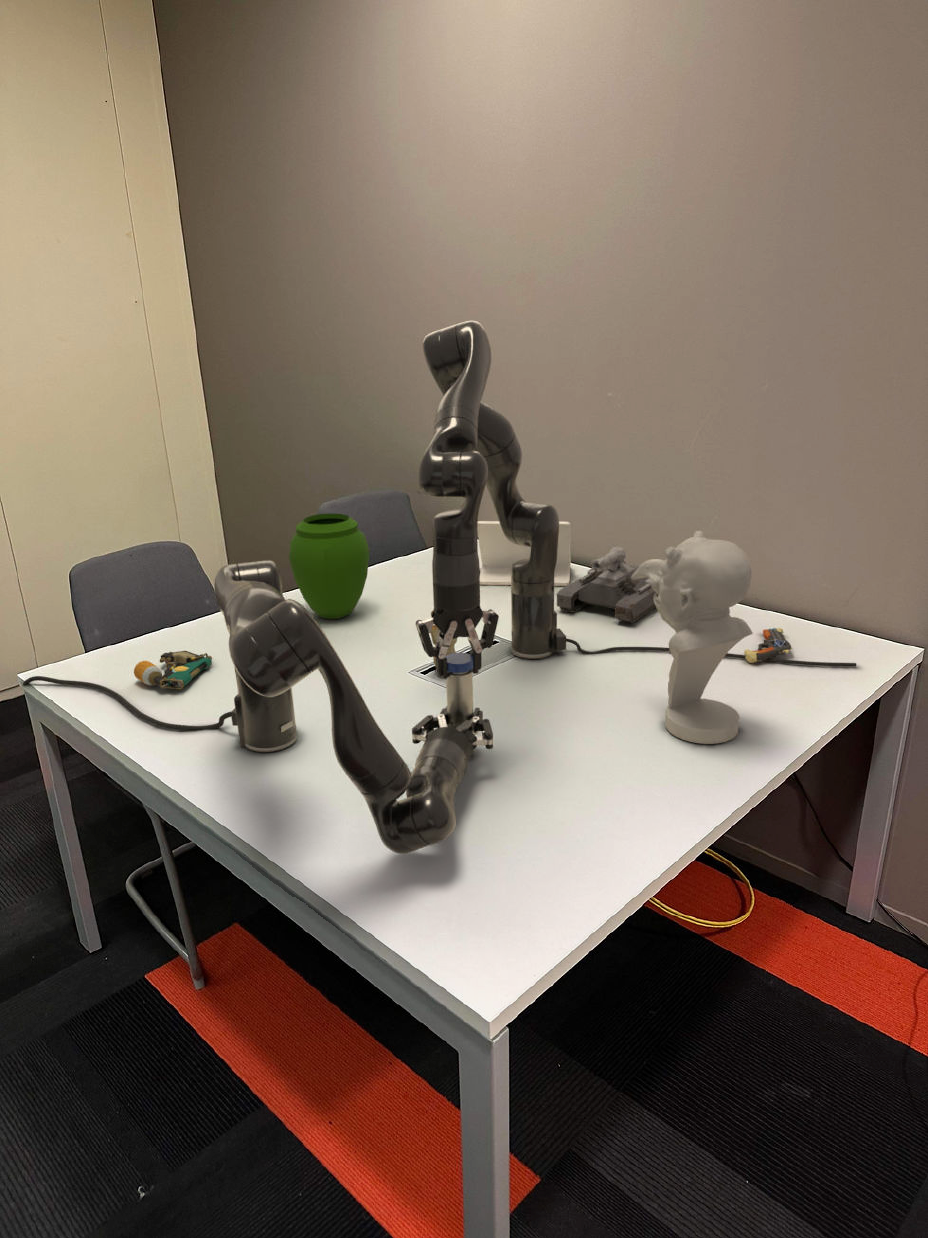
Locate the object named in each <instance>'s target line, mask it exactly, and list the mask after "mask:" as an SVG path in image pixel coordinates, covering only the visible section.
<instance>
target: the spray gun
mask: <svg viewBox="0 0 928 1238" xmlns="http://www.w3.org/2000/svg"><path fill="white" fill-rule="evenodd" d="M212 660H213V657H212V656H211V655H208V653H207V652H205V653H201V654H197V653H194V652H192V651H191V652H190V651H188V650H180V651H169V652H164V653H162V654H161V655H160V658H159V660H158V662H159V663H161V664H163V663H165V664H166V668H165V670H163V672H164V674H163V673H162V669H160V668H159V666H157V665H156V664H154V663H152V662H151V661H149V660H141V661H139V662H138V663H136V665H135V666H134V668H133V675H134V677H135V678H136V679H137V680H139V681H140V682H142V683H143V684H145V685H147V686H155V685H157V686H158V687H160V688H161V689H171V690H172V689H173V690H182V689H184V687H185V686H186V685H188V684H189V683H190V682H191V681H192V679H193V678H195V677H196V676H197V675H198V674H200V673H201V672H202V671H203V670H206V669H208V668H209V667H210V666H211V665H212V662H213V661H212ZM178 663H179V664H181V665H179V666H176V665H177V664H178Z"/></svg>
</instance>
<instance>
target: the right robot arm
mask: <svg viewBox="0 0 928 1238" xmlns="http://www.w3.org/2000/svg"><path fill="white" fill-rule="evenodd" d="M422 353H423V356H424V359H425V362H426V365H427V367H428V370H429V372H430V374H431V376H432V378H433V380H434V381H435V383H436V385H437V387H438V389H439V390H440V392H441V394H442V395H443V397H442V398H441V399H440V401H439V404H438V406H437V407H436V411H435V416H434V424H433V425H434V426H433V436H432V438H431V440H430V443H429V444H428V446H427V447H426V450H425V451H424V453H423V455H422V457H421V460H420V462H419V465H418V470H417V480H418V481H417V482H418V485H419V488H420V489H421V491H422V492H423V493H424V494H425V495H426V496H428V497H430V498H436V499H443V498H445V499H446V498H448V499H450V498H453V499H454V498H456V499H457V498H464V502H463V503H462V504H461V505H460V506H459V507H456V508H452V509H449V510H444V511H441V512H439V513H437V514H435V515H434V516H433V519H432V522H431V526H432V527H431V528H432V529H431V530H432V563H431V566H432V567H431V569H432V570H431V571H432V572H431V573H432V595H433V599H432V600H433V610H434V611H433V610H432V611H433V614H432V616H431V615H430V617H429V618H426V619H424V620H422V619H417V620H416V621H415V627H416V630H417V634H418V636H419V639H420V640H419V641H420V642H421V643H420V644H421V645H422V647H423V648H422V649H423V651H424V652H425V653H426V655H427V656H428V658H433V657H436V667H435V671H436V673H437V675H438V676H439V677H440V678H441V679H442V680H446V679H447V658H446V657H445V656H446V653H447V650H448V647H449V646H450V644H451V641H452V639H456V638H457V639H458V638H467V641H468V643H469V645H470V649H469V654H470V655H472V656H473V658H474V667H473V669H472V674H473V675H476V674H479V672H480V671H479V670H481V669H482V662H483V661H482V652H483V651H484V650H485V649H491V648H493V647H492V646H493V644H494V639H495V636H496V632H497V627H498V623H499V618H500V617H499V614H497V612H495V611H494V609H488V610H483V609H482V607H481V584H480V572H481V569H480V566H481V565H480V556H479V550H478V549H479V547H478V546H479V545H478V544H479V541H478V531H477V523H478V521H479V514H480V507H481V504H482V499H483V495H484V492H485V488H487V491H488V493H489V495H490V498H491V501H492V505H493V506H494V509H495V513H496V516H497V520H498V521H499V523H500V526H501V528H502V531H503V533H504V535H505V537H506V538H507V539H508V540H509V541H510V542H512V543H514V544H517V545H522V546H528V547H531V552H530V558H526V559H522V560H519V561H516V562H515V563H513V565H512V567H511V585H510V588H511V589H510V597H511V599H510V603H511V604H510V606H511V607H510V609H511V610H510V615H511V617H510V618H511V621H510V622H511V643H510V644H511V647H510V651H511V653H512V655H513V656H515V657H518V658H521V659H525V660H526V659H527V660H540V659H545V658H548V657H550V656H552V655H557V654H558V653H557V651H558V652H560V651H567V643H569V644H572V645H574V646H575V647H576V649H577V651H578V652H579V653H581V654H583V655H599V654H605V653H610V652H615V651H655V652H670V649H669V647H663V646H662V647H661V646H659V647H658V646H614V647H608V648H604V649H600V650H596V651H595V650H594V651H588V650H584V649H582V648H581V645H580V644H579V642H577V641H576V640H574V639H570V638H568V637H567V635H566V634H565V632H563V631H562V630H561V628H559V627H558V613H557V612H556V611H555V586H554V572H555V567H556V563H557V554H558V538H559V522H560V520H559V518H560V517H559V514H558V511H557V509H556V508H555V507H554V506H553V505H551V504H547V503H541V502H540V503H539V502H532V501H527V500H525V499H524V497H522V495H521V494H520V491H519V488H518V485H517V478H518V475H519V472H520V470H521V465H522V460H523V452H522V448H521V444H520V442H519V440H518V437H517V435H516V432H515V430H514V428H513V426H512V424H511V422H510V421H509V419H507V417H505V416H504V415H503V414H502V413H501V412H499V411H498V410H496V409H495V408H493V407H491V406H490V405H488V404H487V403H485V402H483V401H482V399H483V396H484V393H485V389H486V386H487V383H488V378H489V375H490V372H491V365H492V348H491V344H490V340H489V337H488V335H487V332H486V330H485V328H484V327H483V325H482V324H481V323H480V322H479V321H477V320H467V321H463V322H459V323H456V324H454V325H450V326H447V327H444V328H441V329H437V330H435V331H433V332H430V333H428V334H427V335H425V337H424V338H423V341H422ZM481 620H482V622H483V626H482V627H483V628H482V632H481V636H480V638H479V635H478V633H477V630H476V628H477V626H478V625H479V623H480V622H481ZM433 625H436V627H437V628H438V629H439V632H438V635H437V643H436V646H435V645H434V644H433V641H432V638H431V637H430V636H431V634H430V633H431V631H432V626H433ZM724 658H736V659H743V660H746V656H745V654H739V653H729V652H728V653H727V654H726V655H725V656H724ZM759 662H768V663H779V664H788V665H789V664H791V665H801V666H814V667H815V666H816V667H817V666H818V667H854V668H856V667H857V662H829V661H828V662H825V661H807V660H806V661H805V660H796V659H795V660H794V659H784V658H775V657H770V658H767V659H764V660H760V661H759Z"/></svg>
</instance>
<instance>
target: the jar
mask: <svg viewBox="0 0 928 1238" xmlns="http://www.w3.org/2000/svg"><path fill="white" fill-rule="evenodd" d="M445 681H446V682H445V683H446V707H447V713H448V725H454V726H460V725H462V724H463V723H464V722H465V721H466V720H470V719H471V718H472V715H473V713H474V687H473V686H474V685H473V683H474V681H473V672H472V670H470V671H468V672H464V673H453V672H449V671H447V679H445ZM474 755H475V749H474V750H472V752H471V756H470V758H472V757H473V756H474Z"/></svg>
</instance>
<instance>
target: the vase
mask: <svg viewBox="0 0 928 1238" xmlns="http://www.w3.org/2000/svg"><path fill="white" fill-rule="evenodd" d="M358 524H359V523H358V521H356V520H355V519H353V518H352V517H350V516H349V515H347V514H344V513H335V512H334V513H333V512H331V513H320V514H313V515H310V516H307V517H305V518H303V519H302V520H301V521H300V522H299V523H298V524H297V525H296V526H295V532H296V533H295V534H294V536H293V537H292V538H291V540H290V542H289V551H288V559H289V564H290V566H291V567H290V568H291V570H292V575H293V578H294V581H295V584H296V586H297V587H298V589H299V591H300V593H301V596H302V597H303V600H304V601H305V603H306V604H307V605H308V607H309V608H310V609H311V611H312V612H314V613H315V614H316V615H317V616H318V617H320V618H324V619H326V620H327V619H329V620H336V619H341V618H345V617H347V616H349V615H350V614H351V613H352V612H353V611H354V610H355V608H356V607H357V605H358V604H359V601H360V599H361V597H362V595H363V592H364V588H365V586H366V581H367V578H368V570H369V561H370V560H369V559H370V548H369V545H368V541H367V537H366V535H365V534H364V533H363V532H362V531H361V530H360V529H359V527H358Z"/></svg>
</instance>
